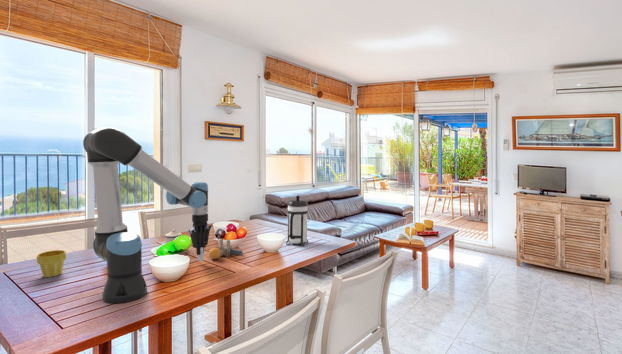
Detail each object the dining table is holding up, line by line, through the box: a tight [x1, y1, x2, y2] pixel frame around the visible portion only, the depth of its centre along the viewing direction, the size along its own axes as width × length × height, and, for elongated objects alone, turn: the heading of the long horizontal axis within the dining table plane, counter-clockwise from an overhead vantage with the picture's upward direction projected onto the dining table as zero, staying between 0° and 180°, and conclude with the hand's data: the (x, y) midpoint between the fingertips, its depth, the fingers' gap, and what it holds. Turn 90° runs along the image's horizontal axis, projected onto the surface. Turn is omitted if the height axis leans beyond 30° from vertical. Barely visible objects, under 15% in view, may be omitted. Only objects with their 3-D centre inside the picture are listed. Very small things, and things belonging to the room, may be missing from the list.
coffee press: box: [285, 195, 309, 247], centre depth 208 cm, size 17×16×30 cm
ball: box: [208, 247, 221, 260], centre depth 178 cm, size 6×6×6 cm
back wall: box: [223, 246, 243, 256], centre depth 189 cm, size 2×16×2 cm, turn 63°
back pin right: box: [224, 239, 231, 258], centre depth 183 cm, size 2×2×8 cm
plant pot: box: [36, 249, 67, 278], centre depth 152 cm, size 10×10×10 cm
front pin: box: [219, 244, 232, 258], centre depth 185 cm, size 2×2×8 cm
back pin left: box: [217, 238, 224, 251], centre depth 186 cm, size 2×2×8 cm
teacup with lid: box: [164, 229, 183, 244], centre depth 193 cm, size 12×9×12 cm
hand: (200, 260), depth 169 cm, fingers closed
